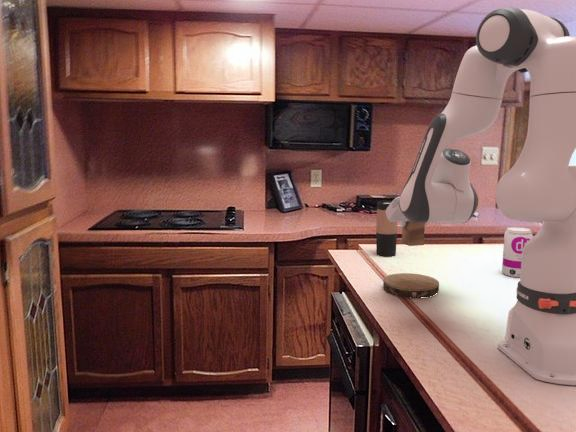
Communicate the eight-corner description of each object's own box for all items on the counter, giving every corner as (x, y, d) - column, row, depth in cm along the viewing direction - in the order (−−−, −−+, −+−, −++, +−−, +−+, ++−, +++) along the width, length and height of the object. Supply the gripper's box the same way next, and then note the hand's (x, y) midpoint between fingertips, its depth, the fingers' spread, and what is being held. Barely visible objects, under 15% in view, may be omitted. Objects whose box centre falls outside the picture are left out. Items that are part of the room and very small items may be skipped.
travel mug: (374, 256, 187) (375, 203, 184) (377, 251, 194) (378, 200, 191) (395, 257, 185) (397, 204, 181) (397, 253, 192) (398, 201, 189)
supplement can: (532, 278, 158) (536, 232, 155) (504, 277, 159) (507, 231, 157) (525, 271, 165) (529, 227, 163) (499, 270, 167) (502, 226, 165)
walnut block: (424, 245, 144) (425, 210, 142) (409, 246, 143) (410, 211, 141) (416, 241, 149) (417, 208, 147) (401, 242, 147) (402, 209, 146)
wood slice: (445, 287, 150) (445, 278, 150) (428, 303, 137) (429, 292, 137) (394, 279, 159) (395, 270, 158) (374, 293, 146) (374, 283, 145)
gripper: (399, 206, 130) (382, 236, 141) (468, 203, 135) (447, 232, 146) (392, 187, 134) (376, 218, 145) (460, 185, 139) (439, 214, 150)
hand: (412, 225), depth 145 cm, fingers closed on walnut block, 5 cm apart
